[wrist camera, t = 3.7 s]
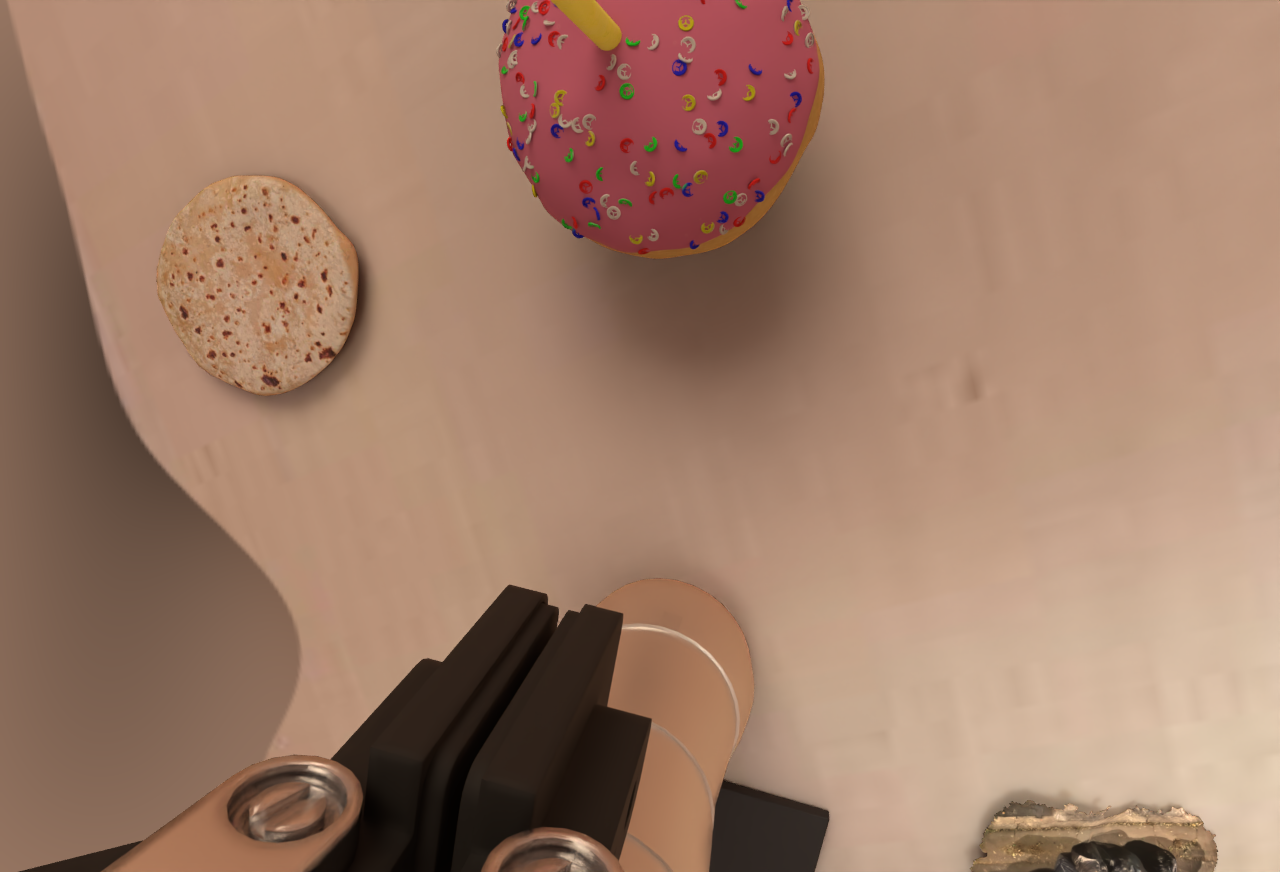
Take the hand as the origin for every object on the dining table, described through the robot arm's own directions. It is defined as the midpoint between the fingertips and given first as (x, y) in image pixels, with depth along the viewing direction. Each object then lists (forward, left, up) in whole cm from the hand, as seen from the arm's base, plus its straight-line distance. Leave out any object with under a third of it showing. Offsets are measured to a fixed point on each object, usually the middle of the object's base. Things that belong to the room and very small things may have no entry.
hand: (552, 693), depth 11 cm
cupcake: (-10, -3, -18) cm, 20 cm away
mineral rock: (+12, +16, -18) cm, 27 cm away
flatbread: (-2, -17, -17) cm, 24 cm away
